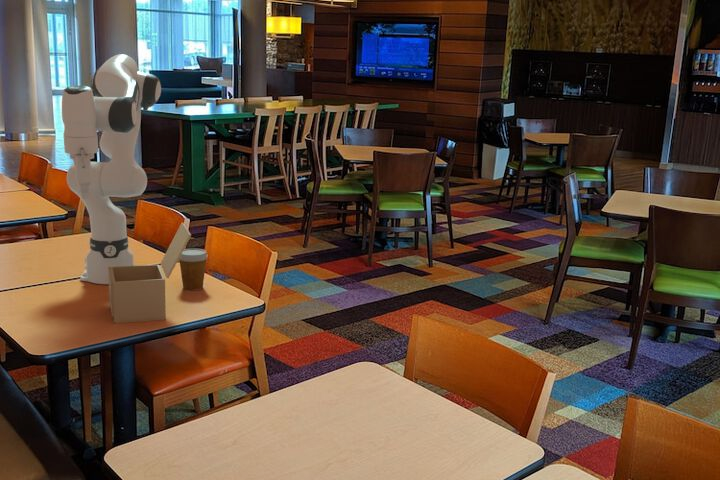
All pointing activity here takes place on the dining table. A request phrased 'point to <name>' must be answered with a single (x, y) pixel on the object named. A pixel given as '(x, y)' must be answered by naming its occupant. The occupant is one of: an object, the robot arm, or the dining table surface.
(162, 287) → the carton
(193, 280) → the disposable coffee cup
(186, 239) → the lid flap
